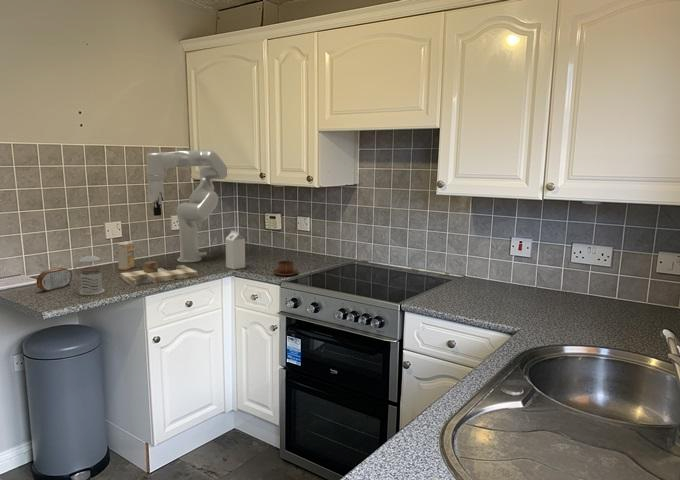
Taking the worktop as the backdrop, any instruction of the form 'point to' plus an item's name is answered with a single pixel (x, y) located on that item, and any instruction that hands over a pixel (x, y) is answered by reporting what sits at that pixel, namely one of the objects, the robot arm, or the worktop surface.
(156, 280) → the trap board
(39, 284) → the brown grey rounded block
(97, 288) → the french press
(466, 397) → the worktop surface
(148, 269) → the walnut block
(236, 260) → the milk carton
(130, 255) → the supplement box
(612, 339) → the worktop surface
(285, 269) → the cup and saucer
